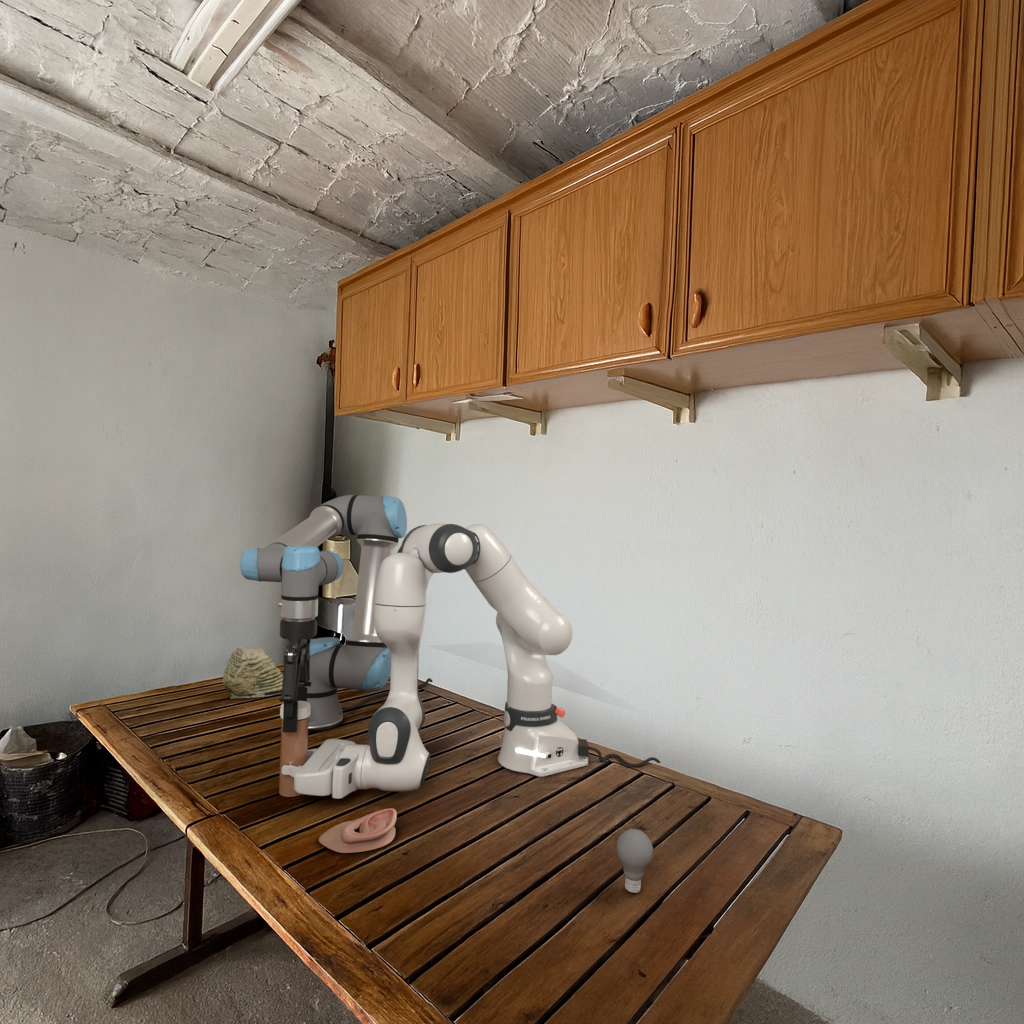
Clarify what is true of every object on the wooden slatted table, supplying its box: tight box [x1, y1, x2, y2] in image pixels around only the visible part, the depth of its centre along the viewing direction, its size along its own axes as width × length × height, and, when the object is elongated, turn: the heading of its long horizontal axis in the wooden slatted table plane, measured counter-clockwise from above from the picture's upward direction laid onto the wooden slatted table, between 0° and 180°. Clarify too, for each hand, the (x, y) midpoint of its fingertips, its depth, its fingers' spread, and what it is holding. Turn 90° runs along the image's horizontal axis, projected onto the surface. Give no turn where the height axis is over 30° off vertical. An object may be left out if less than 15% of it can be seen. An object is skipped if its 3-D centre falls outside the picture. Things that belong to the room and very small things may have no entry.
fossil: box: [222, 646, 283, 699], centre depth 198 cm, size 9×18×15 cm, turn 132°
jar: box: [278, 717, 309, 798], centre depth 136 cm, size 6×6×18 cm
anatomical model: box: [318, 807, 398, 854], centre depth 118 cm, size 13×4×12 cm
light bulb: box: [615, 828, 654, 894], centre depth 106 cm, size 6×6×10 cm
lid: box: [279, 701, 311, 720], centre depth 135 cm, size 6×6×2 cm
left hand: (294, 723), depth 136 cm, fingers open, 8 cm apart
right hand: (289, 762), depth 136 cm, fingers closed on jar, 5 cm apart
